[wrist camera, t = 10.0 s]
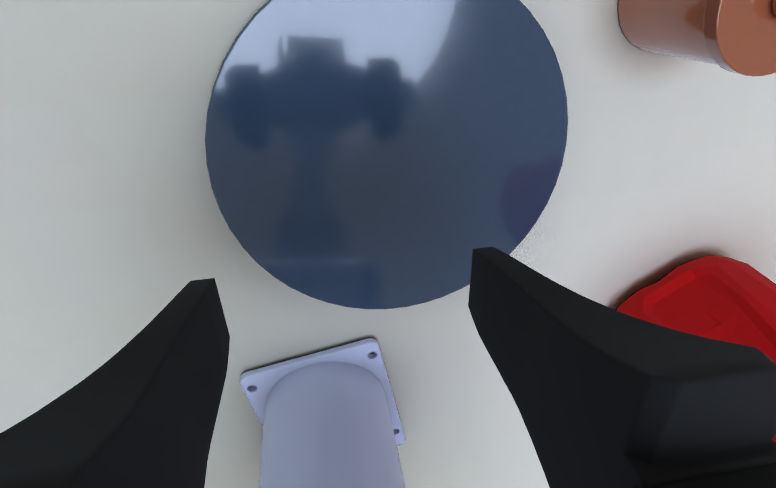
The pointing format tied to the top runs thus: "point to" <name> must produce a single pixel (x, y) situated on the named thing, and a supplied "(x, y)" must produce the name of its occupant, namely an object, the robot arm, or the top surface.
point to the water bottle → (712, 303)
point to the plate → (384, 142)
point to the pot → (705, 31)
